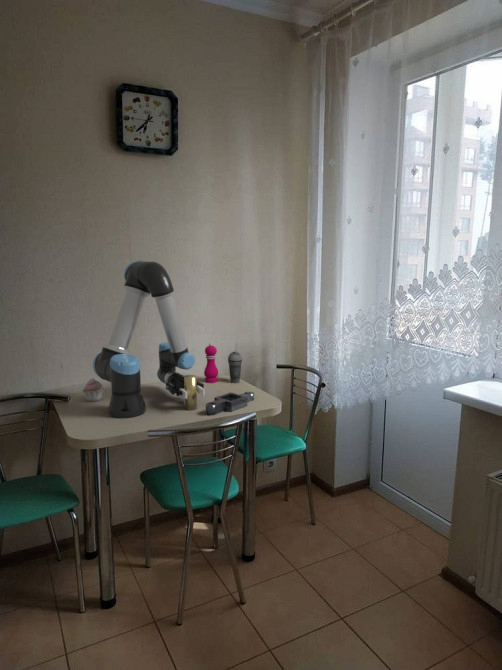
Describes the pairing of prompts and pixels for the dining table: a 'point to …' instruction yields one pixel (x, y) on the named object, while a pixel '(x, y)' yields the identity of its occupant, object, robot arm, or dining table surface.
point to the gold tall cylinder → (190, 392)
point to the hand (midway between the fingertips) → (195, 394)
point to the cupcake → (93, 390)
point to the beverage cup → (235, 366)
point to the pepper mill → (211, 364)
